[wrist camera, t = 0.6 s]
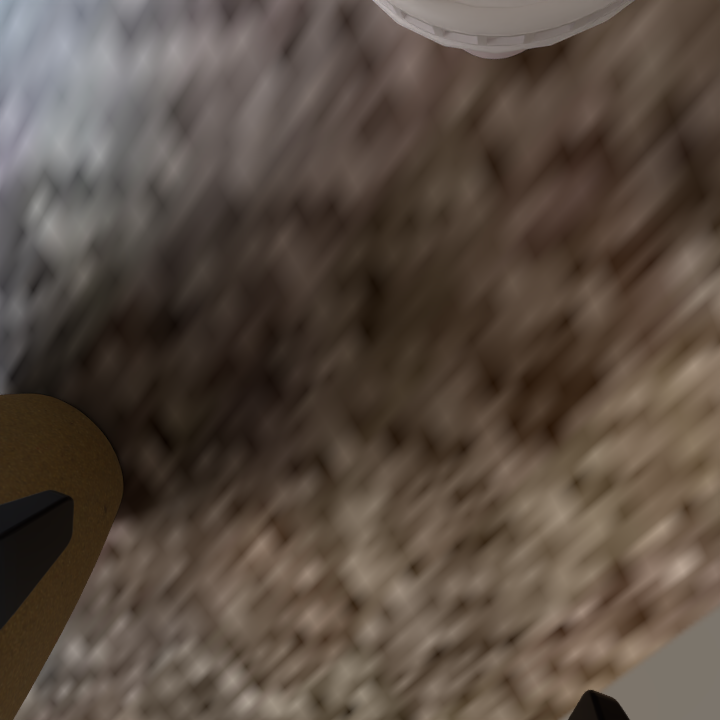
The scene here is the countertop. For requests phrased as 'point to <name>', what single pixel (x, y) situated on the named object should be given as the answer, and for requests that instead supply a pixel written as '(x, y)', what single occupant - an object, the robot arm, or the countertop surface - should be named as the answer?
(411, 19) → the smoothie
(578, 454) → the countertop surface
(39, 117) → the countertop surface
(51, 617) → the plant pot
